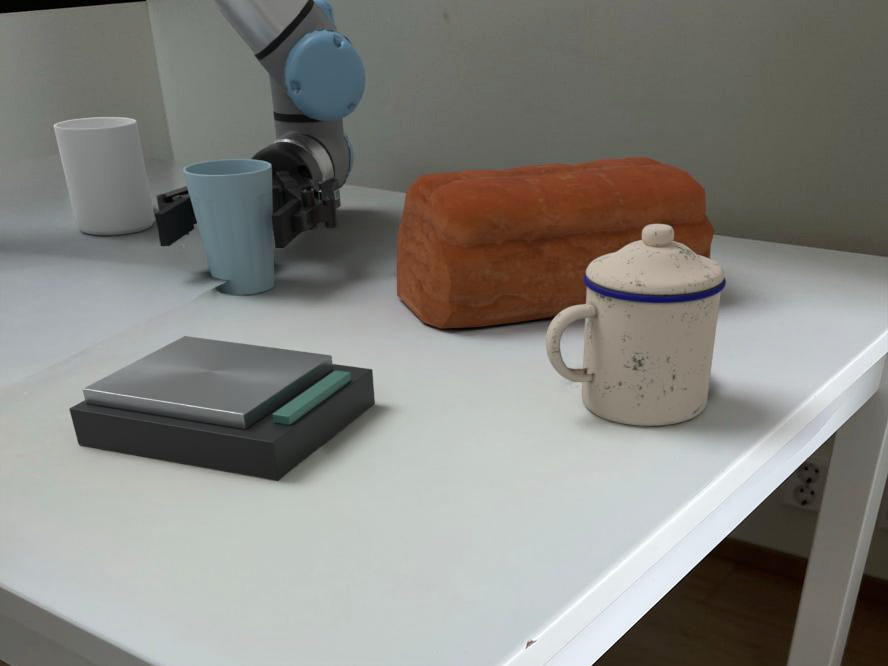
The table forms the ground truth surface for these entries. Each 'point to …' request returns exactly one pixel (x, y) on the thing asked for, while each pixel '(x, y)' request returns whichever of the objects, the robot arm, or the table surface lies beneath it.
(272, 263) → the cup
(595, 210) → the bread
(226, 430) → the scale
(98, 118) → the mug
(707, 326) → the teacup with lid
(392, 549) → the table surface
